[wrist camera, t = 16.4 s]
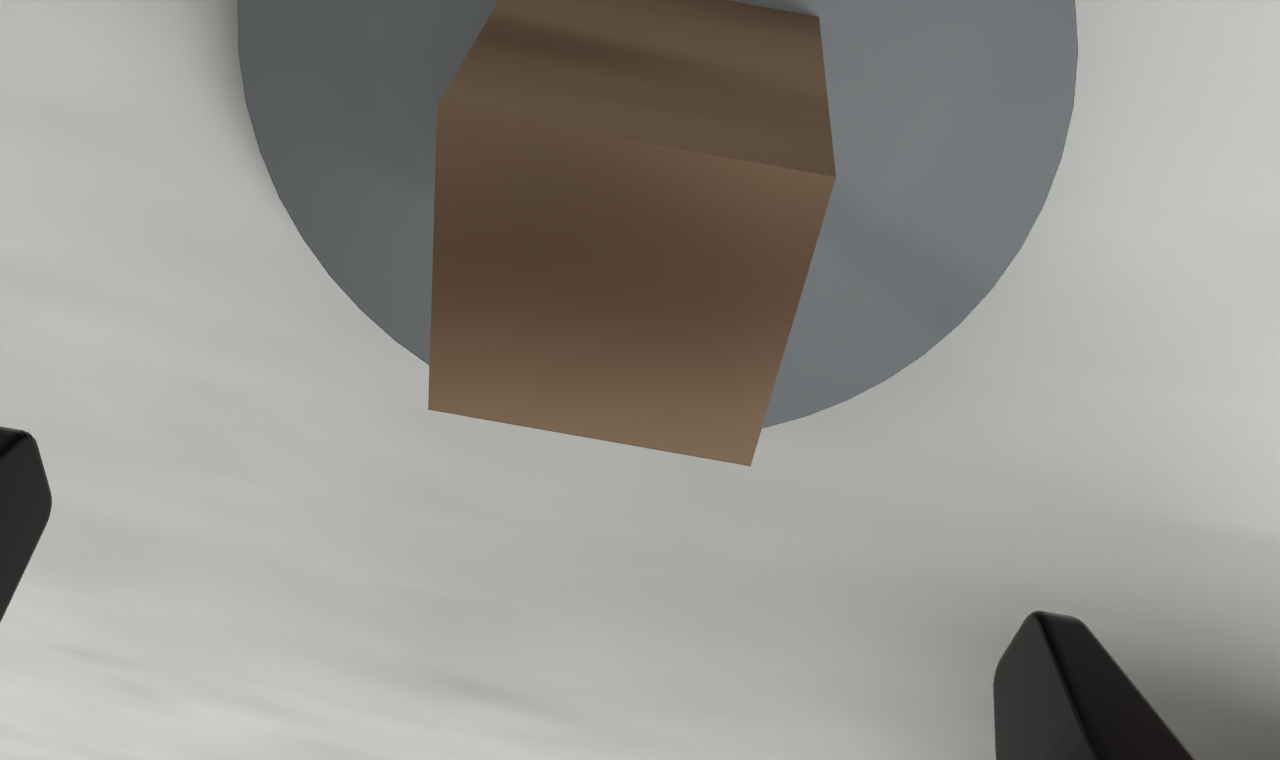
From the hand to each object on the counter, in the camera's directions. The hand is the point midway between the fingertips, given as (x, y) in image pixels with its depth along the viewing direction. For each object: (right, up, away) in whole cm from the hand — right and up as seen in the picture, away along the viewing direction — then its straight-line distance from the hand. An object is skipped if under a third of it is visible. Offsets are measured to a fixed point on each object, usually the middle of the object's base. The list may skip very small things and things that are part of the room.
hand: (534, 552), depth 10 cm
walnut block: (+1, +6, +7) cm, 9 cm away
